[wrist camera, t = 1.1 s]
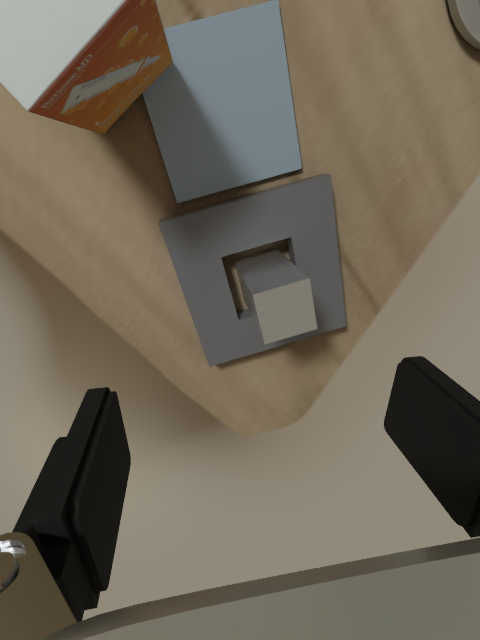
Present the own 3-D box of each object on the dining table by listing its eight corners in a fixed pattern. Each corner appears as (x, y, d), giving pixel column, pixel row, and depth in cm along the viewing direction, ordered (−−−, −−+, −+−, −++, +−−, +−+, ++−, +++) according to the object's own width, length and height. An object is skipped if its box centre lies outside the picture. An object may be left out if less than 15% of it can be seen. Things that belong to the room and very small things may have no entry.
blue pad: (276, 1, 25) (278, -2, 24) (300, 168, 30) (302, 168, 30) (125, 40, 24) (125, 39, 24) (177, 203, 30) (177, 203, 29)
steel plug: (275, 248, 33) (309, 278, 24) (283, 288, 35) (317, 328, 26) (233, 260, 33) (252, 294, 24) (244, 299, 35) (264, 344, 26)
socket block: (322, 174, 31) (330, 174, 29) (338, 318, 38) (346, 326, 36) (160, 219, 30) (158, 222, 28) (208, 357, 37) (209, 366, 36)
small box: (104, 136, 27) (26, 116, 15) (37, 60, 24) (-120, -36, 12) (176, 62, 25) (151, -26, 13) (112, -29, 22) (12, -236, 11)
